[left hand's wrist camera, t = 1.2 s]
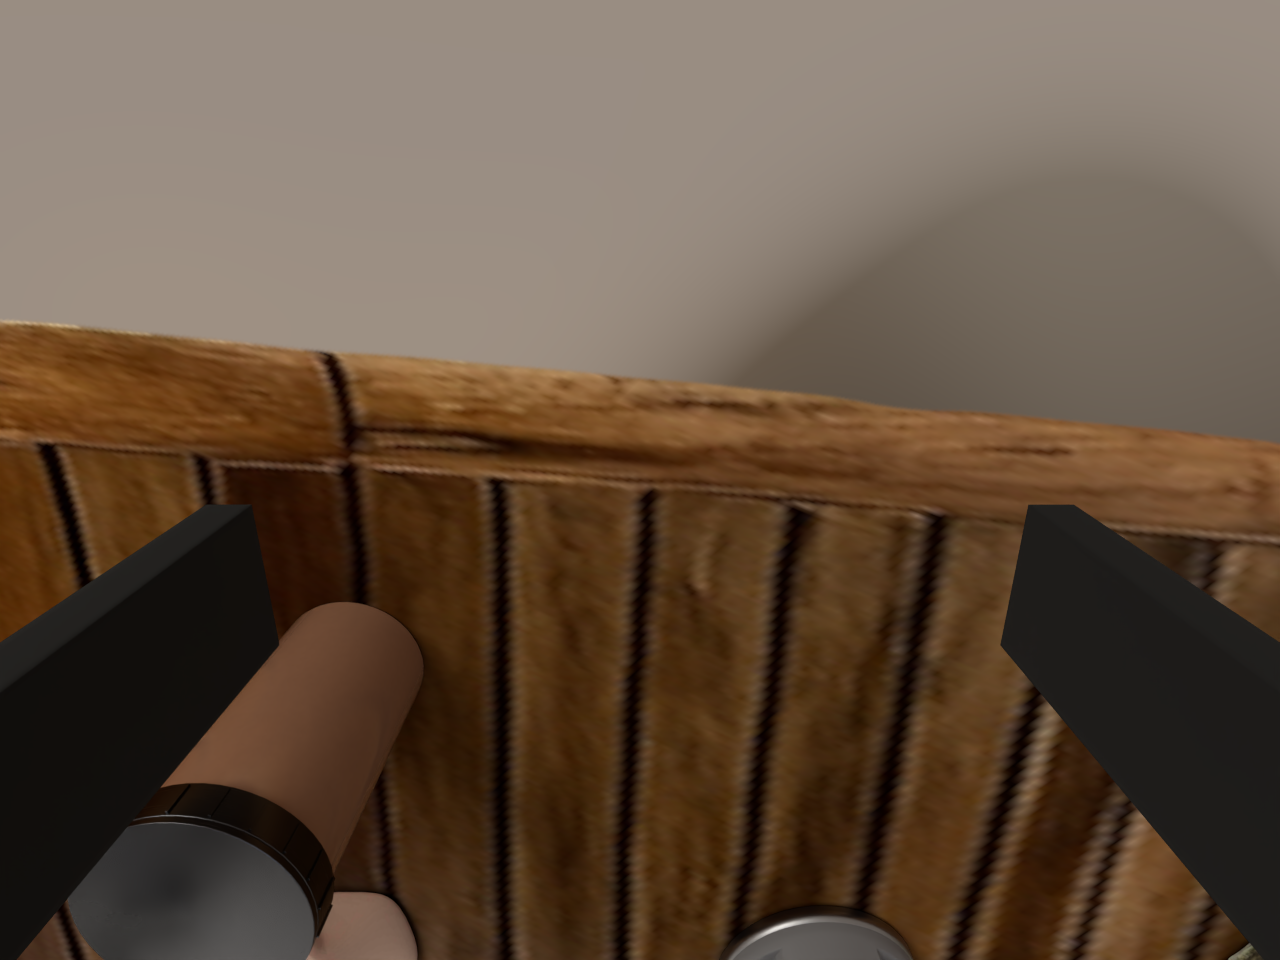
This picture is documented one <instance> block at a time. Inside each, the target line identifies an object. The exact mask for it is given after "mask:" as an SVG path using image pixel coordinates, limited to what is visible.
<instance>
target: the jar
mask: <svg viewBox="0 0 1280 960" xmlns="http://www.w3.org/2000/svg"><path fill="white" fill-rule="evenodd" d="M423 675H424V666H423V659H422V655H421V652H420V649H419V647H418V645H417V643H416V641H415V639H414V638H413V636H412V635H411V634H410V632H409V631H408V630H407V629H406V628H405V627H404V626H403V625H402V624H401V623H400V622H399V621H397V620H396V619H395V618H393V617H392V616H390V615H389V614H387V613H385V612H383V611H381V610H379V609H377V608H374V607H371V606H368V605H364V604H360V603H352V602H336V603H329V604H325V605H321V606H318V607H316V608H313V609H311V610H310V611H308V612H306V613H304V614H303V615H302V616H301V617H299V618H298V619H297V620H296V621H295V622H294V624H293V625H292V626H291V627H290V628H289V629H288V631H287V632H286V633H285V634H284V635H283V636H282V638H281V639H280V640H279V646H278V648H277V649H276V650H275V651H274V652H273V654H272V655H271V656H270V657H269V658H268V660H267V661H266V662H265V663H264V664H263V666H262V667H261V668H260V669H259V670H258V671H257V673H256V674H255V675H254V676H253V677H252V679H251V680H250V681H249V682H248V683H247V685H246V686H245V687H244V688H243V689H242V691H241V692H240V693H239V694H238V695H237V697H236V698H235V699H234V700H233V701H232V703H231V704H230V705H229V706H228V707H227V709H226V710H225V711H224V712H223V713H222V715H221V716H220V717H219V718H218V719H217V720H216V722H215V723H214V724H213V725H212V726H211V728H210V729H209V730H208V731H207V732H206V734H205V735H204V736H203V737H202V738H201V740H200V741H199V742H198V743H197V744H196V746H195V747H194V748H193V749H192V750H191V752H190V753H189V754H188V755H187V756H186V758H185V759H184V760H183V761H182V762H181V764H180V765H179V766H178V767H177V768H176V769H175V771H174V772H173V773H172V774H171V775H170V777H169V778H168V779H167V780H166V781H165V783H164V784H163V785H162V786H161V787H166V786H170V785H176V784H185V783H208V784H218V785H224V786H229V787H234V788H238V789H241V790H244V791H248V792H251V793H253V794H256V795H258V796H261V797H263V798H266V799H268V800H270V801H271V802H273V803H275V804H277V805H279V806H281V807H282V808H284V809H285V810H287V811H288V812H290V813H291V814H293V815H294V816H295V817H296V818H298V819H299V820H300V821H301V822H302V823H304V824H305V825H306V827H307V828H308V829H309V830H310V831H311V832H312V833H313V834H314V835H315V836H316V838H317V839H318V840H319V842H320V843H321V845H322V846H323V848H324V850H325V852H326V853H327V855H328V858H329V860H330V863H331V866H332V870H333V875H334V872H335V870H336V868H337V866H338V864H339V862H340V860H341V857H342V855H343V853H344V851H345V849H346V847H347V844H348V842H349V840H350V838H351V836H352V834H353V832H354V829H355V827H356V825H357V823H358V821H359V819H360V816H361V814H362V812H363V810H364V808H365V806H366V804H367V801H368V799H369V797H370V795H371V793H372V791H373V788H374V786H375V784H376V782H377V780H378V778H379V776H380V773H381V771H382V769H383V767H384V765H385V763H386V760H387V758H388V756H389V754H390V752H391V750H392V748H393V745H394V743H395V741H396V739H397V737H398V735H399V732H400V730H401V728H402V726H403V724H404V722H405V720H406V717H407V715H408V713H409V711H410V709H411V707H412V704H413V702H414V700H415V698H416V696H417V694H418V692H419V689H420V687H421V684H422V680H423ZM161 787H160V788H161Z"/></svg>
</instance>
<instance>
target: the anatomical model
mask: <svg viewBox="0 0 1280 960" xmlns="http://www.w3.org/2000/svg"><path fill="white" fill-rule="evenodd" d="M332 905H333V907H332V909H331V911H330V913H329V916H328V918H327V920H326V922H325V925H324V927H323V929H322V931H321V934H320V936H319V938H317V939H316V941H315V943H314V945H313V948H312V950H311V952H310V954H309V956H308V957H307V959H306V960H417V945H416V941H415V938H414V935H413V932H412V930H411V927H410V925H409V923H408V921H407V919H406V917H405V915H404V914H403V912H402V910H401V909H400V907H399V906H398V905H397V904H396V903H395V902H394V901H393V900H392V899H390V898H389V897H387V896H384V895H382V894H377V893H369V892H334V895H333V901H332Z"/></svg>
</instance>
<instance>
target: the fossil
mask: <svg viewBox="0 0 1280 960" xmlns="http://www.w3.org/2000/svg"><path fill="white" fill-rule="evenodd" d="M1228 960H1263V958H1262V957H1261V956H1260V955H1259V954H1258V952H1257V951H1256V950H1255V949H1254V948H1253V946H1252V945H1251V944H1250V943H1249V944H1248V945H1247V946H1245V947H1244V948H1243V949H1241V950H1240V951H1239V952H1237V953H1236V954H1234V955H1233V956H1231V957H1230V958H1229V959H1228Z"/></svg>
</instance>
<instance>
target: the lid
mask: <svg viewBox="0 0 1280 960" xmlns="http://www.w3.org/2000/svg"><path fill="white" fill-rule="evenodd" d="M334 880H335V877H334V875H333V870H332V866H331V863H330V860H329V858H328V855H327V853H326V852H325V850H324V848H323V846H322V845H321V843H320V842H319V840H318V839H317V838H316V836H315V835H314V834H313V833H312V832H311V831H310V830H309V829H308V828H307V827H306V825H305V824H304V823H302V822H301V821H300V820H299V819H298V818H296V817H295V816H294V815H293V814H291V813H290V812H288V811H287V810H285V809H284V808H282V807H281V806H279V805H277V804H275V803H273V802H271V801H270V800H268V799H266V798H263V797H261V796H258V795H256V794H253V793H251V792H248V791H244V790H241V789H238V788H234V787H229V786H224V785H218V784H208V783H185V784H176V785H170V786H166V787H161V788H160V789H159V790H158V791H157V792H156V793H155V795H154V796H153V797H152V798H151V799H150V801H149V802H148V803H147V804H146V805H145V807H144V808H143V809H142V810H141V811H140V813H139V814H138V815H137V816H136V817H135V818H134V820H133V821H132V822H131V823H130V824H129V826H128V827H127V828H126V829H125V830H124V832H123V833H122V834H121V835H120V836H119V838H118V839H117V840H116V841H115V842H114V844H113V845H112V846H111V847H110V848H109V850H108V851H107V852H106V853H105V854H104V856H103V857H102V858H101V859H100V860H99V862H98V863H97V864H96V865H95V866H94V867H93V869H92V870H91V871H90V872H89V873H88V875H87V876H86V877H85V878H84V879H83V881H82V882H81V883H80V884H79V885H78V887H77V888H76V889H75V890H74V891H73V893H72V894H71V895H70V896H69V897H68V903H69V908H70V912H71V915H72V917H73V920H74V923H75V924H76V926H77V928H78V930H79V932H80V933H81V935H82V936H83V938H84V939H85V940H86V941H87V943H88V944H89V945H90V946H91V947H92V948H93V949H94V951H95V952H96V953H97V954H98V955H99V956H101V957H102V958H103V959H104V960H306V959H307V957H308V956H309V954H310V952H311V950H312V948H313V945H314V943H315V941H316V939H317V938H319V936H320V934H321V931H322V929H323V927H324V925H325V922H326V920H327V918H328V916H329V913H330V911H331V909H332V907H333V905H332V901H333V895H334Z"/></svg>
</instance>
